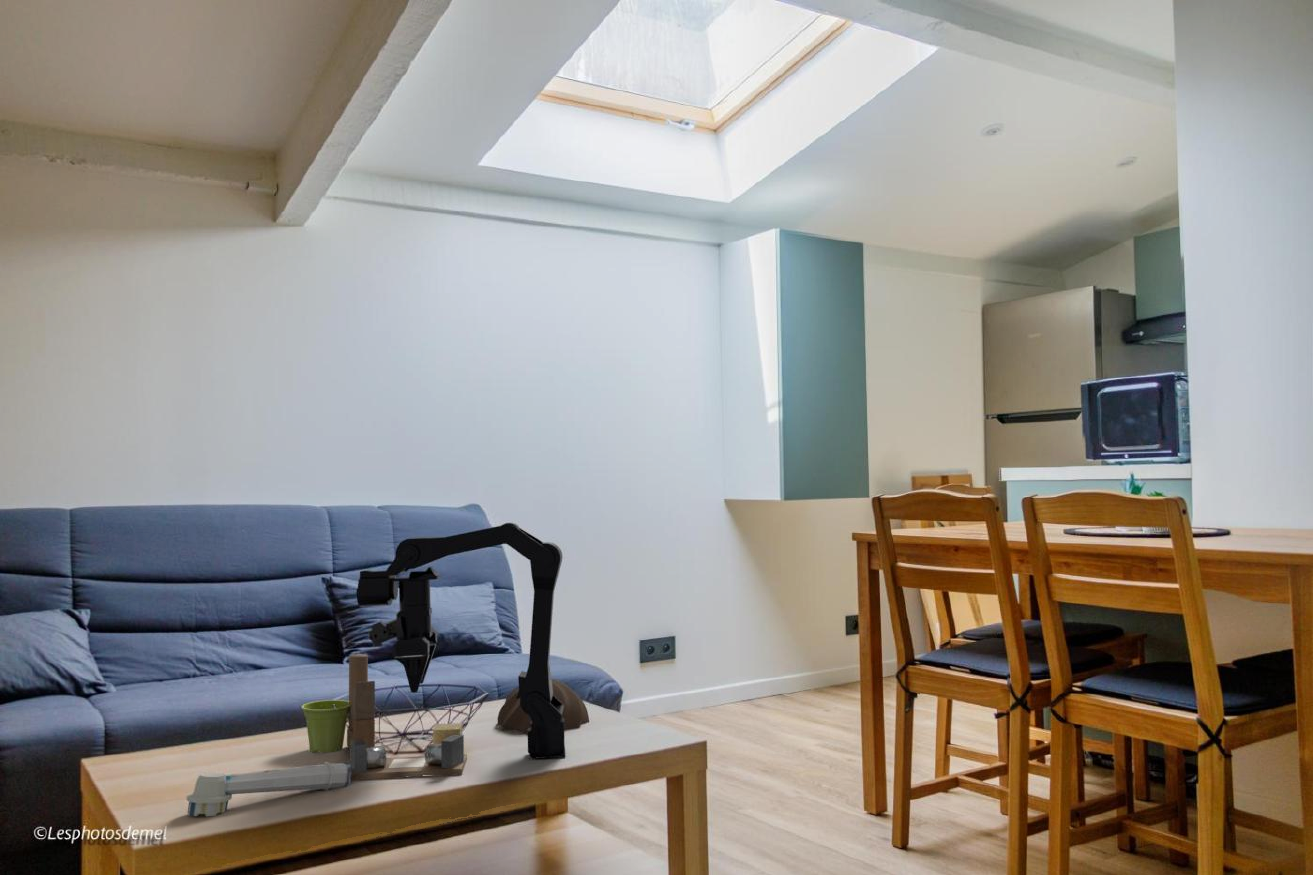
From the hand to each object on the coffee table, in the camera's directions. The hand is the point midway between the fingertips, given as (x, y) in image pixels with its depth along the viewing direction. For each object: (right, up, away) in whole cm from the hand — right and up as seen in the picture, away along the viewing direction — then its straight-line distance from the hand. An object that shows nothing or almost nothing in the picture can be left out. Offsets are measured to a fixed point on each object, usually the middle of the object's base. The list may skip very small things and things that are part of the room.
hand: (417, 687), depth 181 cm
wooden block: (-12, -14, +5) cm, 19 cm away
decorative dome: (+21, -15, +27) cm, 37 cm away
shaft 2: (+7, -11, -10) cm, 16 cm away
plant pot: (-19, -14, +7) cm, 25 cm away
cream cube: (+5, -13, +3) cm, 14 cm away
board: (+1, -12, -9) cm, 15 cm away
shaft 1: (-6, -11, -11) cm, 17 cm away
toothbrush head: (-17, -12, -25) cm, 33 cm away
